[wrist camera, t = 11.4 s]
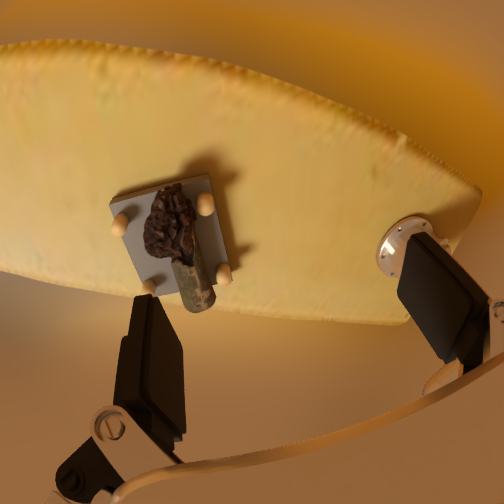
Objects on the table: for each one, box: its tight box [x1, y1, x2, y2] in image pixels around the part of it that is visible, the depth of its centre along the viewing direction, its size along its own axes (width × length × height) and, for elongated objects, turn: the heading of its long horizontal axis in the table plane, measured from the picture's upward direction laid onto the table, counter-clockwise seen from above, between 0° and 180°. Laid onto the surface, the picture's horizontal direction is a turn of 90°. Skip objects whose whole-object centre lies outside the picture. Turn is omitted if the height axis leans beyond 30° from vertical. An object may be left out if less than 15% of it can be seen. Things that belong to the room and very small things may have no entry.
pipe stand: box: [109, 174, 233, 297], centre depth 39 cm, size 13×16×4 cm
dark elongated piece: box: [143, 183, 216, 313], centre depth 37 cm, size 18×7×6 cm, turn 7°
